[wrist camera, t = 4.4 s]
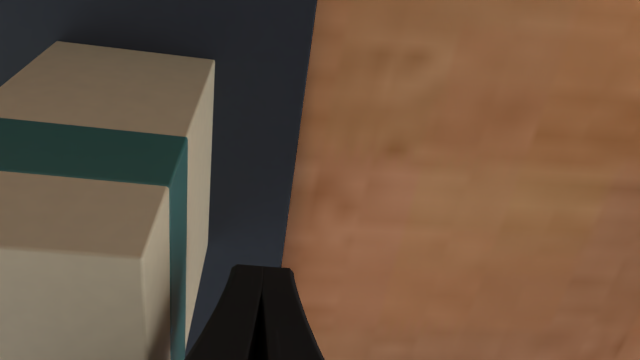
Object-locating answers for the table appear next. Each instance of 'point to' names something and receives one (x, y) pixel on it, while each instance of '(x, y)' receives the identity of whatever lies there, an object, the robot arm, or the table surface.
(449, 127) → the table surface
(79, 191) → the tea box
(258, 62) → the mat
